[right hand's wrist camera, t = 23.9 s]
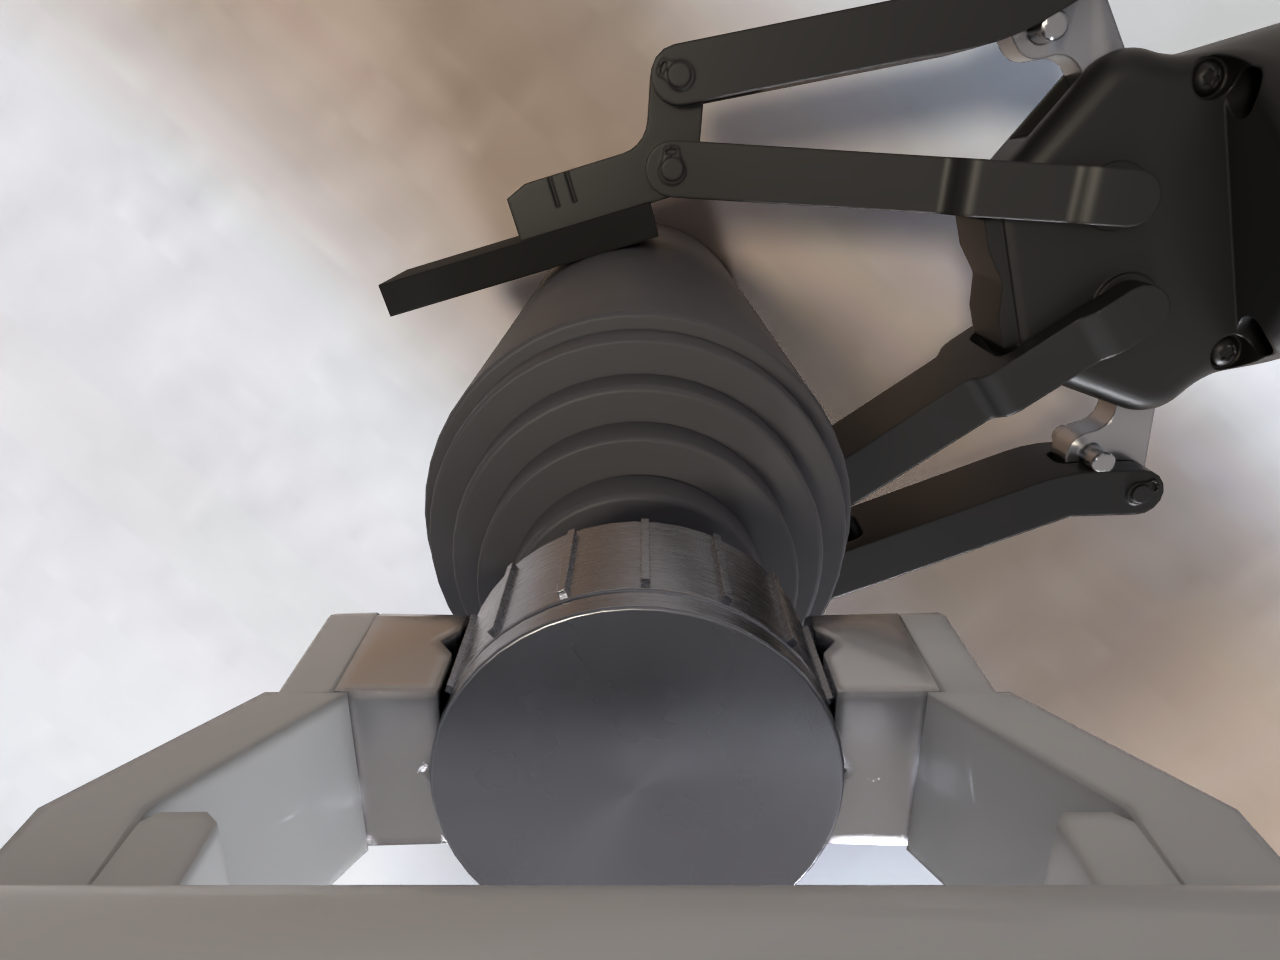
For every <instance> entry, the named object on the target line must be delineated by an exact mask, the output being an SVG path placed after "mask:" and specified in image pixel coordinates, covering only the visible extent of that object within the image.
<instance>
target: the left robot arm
mask: <svg viewBox="0 0 1280 960" xmlns="http://www.w3.org/2000/svg"><path fill="white" fill-rule="evenodd" d="M994 42H997V43H998V46H999V48H1000V50H1001V52H1002V54H1003V55H1004V56H1005V57H1006V58H1007V59H1008V60H1010V61H1013V62H1016V63H1025V62H1029V61H1034V60H1039V59H1049V60H1051V61H1054V62H1055V63H1056V64H1057V65H1058V66H1059V67H1060V68H1061V70H1062V72H1063V74H1064V75H1063V76H1062V77H1061V78H1060V79H1059V81H1058V82H1057V83H1056V84H1055V85H1054V86H1053V88H1052V89H1051V90H1050V91H1049V92H1048V93H1047V94H1046V96H1045V97H1044V98H1043V99H1042V100H1041V101H1040V103H1039V104H1038V105H1037V106H1036V107H1035V108H1034V110H1033V111H1032V112H1031V113H1030V114H1029V115H1028V117H1027V118H1026V119H1025V120H1024V121H1023V122H1022V123H1021V125H1020V126H1019V127H1018V128H1017V129H1016V130H1015V132H1014V133H1013V134H1012V135H1011V136H1010V137H1009V139H1008V140H1007V141H1006V142H1005V143H1004V144H1003V145H1002V147H1001V148H1000V149H999V150H998V151H997V152H996V154H995V155H994V156H993V157H992V158H991V159H990V160H987V159H971V158H953V157H937V156H921V155H905V154H889V153H873V152H857V151H841V150H825V149H809V148H793V147H777V146H761V145H745V144H729V143H713V142H700V134H701V122H702V110H703V104H705V103H710V102H715V101H721V100H726V99H731V98H736V97H741V96H746V95H751V94H756V93H761V92H766V91H771V90H776V89H781V88H786V87H791V86H796V85H801V84H806V83H811V82H816V81H822V80H827V79H832V78H837V77H842V76H847V75H852V74H857V73H862V72H867V71H872V70H877V69H882V68H887V67H892V66H897V65H902V64H907V63H912V62H918V61H923V60H928V59H933V58H938V57H943V56H947V55H951V54H954V53H958V52H962V51H966V50H969V49H973V48H976V47H980V46H983V45H987V44H990V43H994ZM669 197H674V198H690V199H707V200H723V201H740V202H756V203H772V204H789V205H805V206H821V207H838V208H854V209H871V210H887V211H903V212H920V213H936V214H947V215H956V222H957V228H958V234H959V241H960V245H961V247H962V249H963V251H964V253H965V256H966V258H967V260H968V262H969V264H970V266H971V269H972V271H973V278H972V287H971V296H970V310H971V316H972V322H973V326H972V327H970V328H969V329H967V330H966V331H964V332H963V333H961V334H959V335H958V336H956V337H955V338H953V339H952V340H950V341H949V342H948V343H946V344H945V345H944V346H943V347H942V348H941V350H940V352H939V354H938V356H937V357H936V358H934V359H933V360H932V361H930V362H929V363H927V364H926V365H924V366H923V367H921V368H920V369H918V370H917V371H915V372H913V373H912V374H910V375H909V376H907V377H906V378H904V379H903V380H901V381H900V382H898V383H897V384H895V385H894V386H892V387H891V388H889V389H887V390H886V391H884V392H883V393H881V394H880V395H878V396H877V397H875V398H874V399H872V400H871V401H869V402H868V403H866V404H864V405H863V406H861V407H860V408H858V409H857V410H855V411H854V412H852V413H851V414H849V415H848V416H846V417H845V418H843V419H842V420H840V421H838V422H837V423H835V424H834V425H832V427H833V429H834V431H835V434H836V436H837V439H838V442H839V444H840V447H841V450H842V452H843V455H844V460H845V464H846V469H847V474H848V478H849V487H850V501H851V506H852V507H851V512H850V526H849V535H848V539H847V544H846V549H845V553H844V558H843V561H842V565H841V570H840V575H839V578H838V581H837V583H836V586H835V589H834V592H833V594H832V597H831V600H832V599H835V598H837V597H840V596H843V595H846V594H849V593H852V592H855V591H858V590H860V589H863V588H866V587H869V586H872V585H875V584H878V583H880V582H883V581H886V580H889V579H892V578H895V577H898V576H901V575H903V574H906V573H909V572H912V571H915V570H918V569H921V568H924V567H926V566H929V565H932V564H935V563H938V562H941V561H944V560H947V559H949V558H952V557H955V556H958V555H961V554H964V553H967V552H970V551H972V550H975V549H978V548H981V547H984V546H987V545H990V544H992V543H995V542H998V541H1001V540H1004V539H1007V538H1010V537H1013V536H1015V535H1018V534H1021V533H1024V532H1027V531H1030V530H1033V529H1036V528H1038V527H1041V526H1044V525H1047V524H1050V523H1053V522H1056V521H1059V520H1061V519H1064V518H1067V517H1070V516H1102V515H1133V514H1140V513H1145V512H1147V511H1148V510H1150V509H1152V508H1154V506H1155V505H1156V504H1157V503H1158V502H1159V501H1160V499H1161V497H1162V494H1163V482H1162V480H1161V479H1160V477H1159V476H1158V475H1157V474H1155V473H1154V472H1152V471H1150V470H1149V469H1147V468H1146V467H1145V460H1146V455H1147V449H1148V443H1149V437H1150V432H1151V426H1152V420H1153V415H1154V409H1155V408H1156V407H1159V406H1161V405H1164V404H1166V403H1168V402H1169V401H1171V400H1173V399H1174V398H1175V397H1177V396H1178V395H1179V394H1180V393H1182V392H1183V391H1184V390H1185V389H1186V388H1188V387H1189V386H1190V385H1192V384H1193V383H1195V382H1196V381H1198V380H1200V379H1201V378H1203V377H1205V376H1207V375H1209V374H1212V373H1215V372H1218V371H1222V370H1227V369H1233V368H1238V367H1244V366H1249V365H1254V364H1259V363H1264V362H1268V361H1272V360H1276V359H1280V23H1278V24H1274V25H1271V26H1268V27H1264V28H1261V29H1258V30H1254V31H1251V32H1248V33H1244V34H1241V35H1238V36H1235V37H1231V38H1228V39H1225V40H1221V41H1218V42H1215V43H1211V44H1208V45H1205V46H1201V47H1198V48H1195V49H1191V50H1188V51H1185V52H1181V53H1178V54H1174V55H1170V54H1161V53H1156V52H1153V51H1150V50H1147V49H1142V48H1124V45H1123V42H1122V39H1121V36H1120V34H1119V31H1118V28H1117V25H1116V22H1115V20H1114V17H1113V14H1112V11H1111V8H1110V6H1109V3H1108V0H890V1H885V2H880V3H875V4H870V5H865V6H860V7H855V8H850V9H846V10H841V11H836V12H831V13H826V14H821V15H816V16H811V17H806V18H801V19H796V20H791V21H786V22H781V23H776V24H772V25H767V26H762V27H757V28H752V29H747V30H742V31H737V32H732V33H727V34H722V35H717V36H712V37H707V38H702V39H698V40H693V41H688V42H683V43H678V44H674V45H671V46H669V47H667V48H664V49H663V50H662V51H661V52H660V53H659V55H658V56H657V57H656V58H655V61H654V63H653V66H652V69H651V75H650V87H649V102H648V118H647V126H646V130H645V133H644V135H643V137H642V139H641V140H640V141H639V143H638V144H637V145H636V146H635V147H634V148H632V149H631V150H629V151H627V152H625V153H623V154H619V155H616V156H613V157H610V158H607V159H603V160H600V161H597V162H594V163H590V164H587V165H584V166H581V167H578V168H574V169H571V170H568V171H565V172H561V173H558V174H555V175H552V176H548V177H545V178H542V179H539V180H536V181H532V182H529V183H527V184H524V185H523V186H522V187H521V188H520V189H519V190H517V191H516V192H515V193H514V194H513V195H511V196H510V197H509V198H508V199H507V201H508V204H509V207H510V210H511V213H512V216H513V219H514V222H515V225H516V228H517V231H518V234H519V236H517V237H513V238H510V239H507V240H504V241H500V242H497V243H494V244H490V245H487V246H484V247H481V248H477V249H474V250H471V251H467V252H464V253H461V254H457V255H454V256H451V257H448V258H444V259H441V260H438V261H434V262H431V263H428V264H425V265H421V266H418V267H415V268H411V269H408V270H406V271H404V272H402V273H400V274H398V275H397V276H395V277H393V278H391V279H389V280H387V281H386V282H384V283H382V284H380V285H379V288H380V291H381V293H382V296H383V298H384V301H385V303H386V306H387V308H388V311H389V314H390V316H394V315H398V314H401V313H404V312H408V311H411V310H414V309H418V308H421V307H424V306H428V305H431V304H434V303H438V302H441V301H444V300H448V299H451V298H454V297H458V296H461V295H465V294H468V293H471V292H475V291H478V290H481V289H485V288H488V287H491V286H495V285H498V284H501V283H505V282H508V281H511V280H515V279H518V278H521V277H525V276H528V275H531V274H535V273H538V272H542V271H545V270H548V269H552V268H555V267H558V266H562V265H565V264H568V263H572V262H575V261H578V260H582V259H585V258H588V257H592V256H595V255H598V254H602V253H605V252H608V251H612V250H615V249H618V248H622V247H625V246H629V245H632V244H635V243H639V242H642V241H645V240H649V239H652V238H655V237H659V235H658V230H657V226H656V222H655V218H654V215H653V211H652V207H651V204H650V203H653V202H656V201H659V200H663V199H666V198H669ZM1061 385H1063V386H1065V387H1068V388H1071V389H1073V390H1076V391H1079V392H1082V393H1084V394H1087V395H1090V396H1092V397H1095V398H1098V399H1099V400H1098V403H1097V406H1096V407H1095V409H1094V411H1093V412H1092V413H1091V414H1090V415H1089V416H1088V417H1086V418H1084V419H1082V420H1080V421H1076V422H1073V423H1070V424H1067V425H1061V426H1059V427H1057V428H1056V429H1055V430H1054V431H1053V434H1052V442H1047V443H1037V444H1031V445H1026V446H1021V447H1018V448H1014V449H1011V450H1008V451H1005V452H1002V453H999V454H996V455H993V456H991V457H988V458H985V459H982V460H980V461H977V462H974V463H971V464H969V465H966V466H963V467H960V468H957V469H955V470H952V471H949V472H946V473H944V474H941V475H938V476H935V477H933V478H930V479H927V480H924V481H921V482H919V483H916V484H913V485H910V486H908V487H905V488H902V489H899V490H897V491H894V492H891V493H888V494H886V495H883V496H880V497H877V498H874V499H872V500H869V501H866V502H863V503H861V504H858V505H855V506H853V505H854V504H856V503H857V502H859V501H861V500H862V499H864V498H865V497H867V496H869V495H870V494H872V493H873V492H875V491H876V490H878V489H880V488H881V487H883V486H884V485H886V484H888V483H889V482H891V481H892V480H894V479H896V478H897V477H899V476H900V475H902V474H904V473H905V472H907V471H908V470H910V469H911V468H913V467H915V466H916V465H918V464H919V463H921V462H923V461H924V460H926V459H927V458H929V457H931V456H932V455H934V454H935V453H937V452H939V451H940V450H942V449H943V448H945V447H947V446H948V445H950V444H951V443H953V442H954V441H956V440H958V439H959V438H961V437H962V436H964V435H966V434H967V433H969V432H970V431H972V430H974V429H975V428H977V427H978V426H980V425H982V424H983V423H985V422H986V421H988V420H990V419H993V418H997V417H1007V416H1010V415H1013V414H1015V413H1017V412H1019V411H1021V410H1023V409H1024V408H1026V407H1028V406H1029V405H1031V404H1032V403H1034V402H1036V401H1037V400H1039V399H1040V398H1042V397H1044V396H1045V395H1047V394H1048V393H1050V392H1052V391H1053V390H1055V389H1056V388H1058V387H1060V386H1061Z"/></svg>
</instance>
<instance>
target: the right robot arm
mask: <svg viewBox="0 0 1280 960" xmlns="http://www.w3.org/2000/svg"><path fill="white" fill-rule="evenodd" d="M469 620H470V616H469V615H423V614H378V613H348V614H334V615H331V616H330V617H329V618H328V619H327V621H326V622H325V624H324V625H323V627H322V628H321V630H320V631H319V633H318V634H317V636H316V637H315V639H314V640H313V642H312V643H311V645H310V646H309V648H308V649H307V651H306V652H305V654H304V655H303V657H302V658H301V660H300V661H299V663H298V664H297V666H296V667H295V669H294V670H293V672H292V673H291V675H290V676H289V678H288V679H287V681H286V682H285V684H284V685H283V687H282V688H281V690H280V691H279V692H264V693H263V694H261V695H259V696H257V697H255V698H253V699H251V700H249V701H247V702H245V703H243V704H241V705H239V706H237V707H235V708H233V709H231V710H229V711H227V712H225V713H223V714H221V715H219V716H218V717H216V718H214V719H212V720H210V721H208V722H206V723H204V724H202V725H200V726H198V727H196V728H194V729H192V730H190V731H188V732H186V733H184V734H182V735H180V736H178V737H176V738H174V739H173V740H171V741H169V742H167V743H165V744H163V745H161V746H159V747H157V748H155V749H153V750H151V751H149V752H147V753H145V754H143V755H141V756H139V757H137V758H135V759H133V760H131V761H129V762H128V763H126V764H124V765H122V766H120V767H118V768H116V769H114V770H112V771H110V772H108V773H106V774H104V775H102V776H100V777H98V778H96V779H94V780H92V781H90V782H88V783H86V784H85V785H83V786H81V787H79V788H77V789H75V790H73V791H71V792H69V793H67V794H65V795H63V796H61V797H59V798H57V799H55V800H53V801H51V802H49V803H47V804H45V805H43V806H41V807H40V808H38V809H37V810H36V811H35V812H34V813H33V814H32V815H31V816H30V818H29V819H28V820H27V821H26V822H25V823H24V824H23V825H22V826H21V827H20V829H19V830H18V831H17V832H16V833H15V834H14V835H13V836H12V837H11V838H10V840H9V841H8V842H7V843H6V844H5V845H4V846H3V847H2V848H1V849H0V960H1280V857H1279V856H1278V855H1277V853H1276V852H1275V851H1274V850H1273V849H1272V848H1271V847H1270V846H1269V845H1268V843H1267V842H1266V841H1265V840H1264V839H1263V838H1262V837H1261V836H1260V834H1259V833H1258V832H1257V831H1256V830H1255V829H1254V828H1253V827H1252V826H1251V824H1250V823H1249V822H1248V821H1247V820H1246V819H1245V818H1244V817H1243V815H1242V814H1241V813H1240V812H1239V811H1238V810H1237V809H1235V808H1233V807H1231V806H1229V805H1227V804H1225V803H1223V802H1222V801H1220V800H1218V799H1216V798H1214V797H1212V796H1210V795H1208V794H1206V793H1204V792H1202V791H1200V790H1198V789H1196V788H1194V787H1192V786H1190V785H1189V784H1187V783H1185V782H1183V781H1181V780H1179V779H1177V778H1175V777H1173V776H1171V775H1169V774H1167V773H1165V772H1163V771H1161V770H1159V769H1158V768H1156V767H1154V766H1152V765H1150V764H1148V763H1146V762H1144V761H1142V760H1140V759H1138V758H1136V757H1134V756H1132V755H1130V754H1128V753H1127V752H1125V751H1123V750H1121V749H1119V748H1117V747H1115V746H1113V745H1111V744H1109V743H1107V742H1105V741H1103V740H1101V739H1099V738H1097V737H1096V736H1094V735H1092V734H1090V733H1088V732H1086V731H1084V730H1082V729H1080V728H1078V727H1076V726H1074V725H1072V724H1070V723H1068V722H1066V721H1065V720H1063V719H1061V718H1059V717H1057V716H1055V715H1053V714H1051V713H1049V712H1047V711H1045V710H1043V709H1041V708H1039V707H1037V706H1035V705H1034V704H1032V703H1030V702H1028V701H1026V700H1024V699H1022V698H1020V697H1018V696H1016V695H1014V694H1012V693H1010V692H995V690H994V689H993V687H992V686H991V684H990V683H989V681H988V680H987V678H986V677H985V675H984V674H983V672H982V671H981V669H980V668H979V666H978V665H977V663H976V662H975V660H974V659H973V657H972V656H971V654H970V653H969V651H968V650H967V648H966V647H965V645H964V644H963V642H962V641H961V639H960V637H959V636H958V634H957V633H956V631H955V630H954V628H953V627H952V625H951V624H950V622H949V621H948V619H947V618H946V616H944V615H942V614H940V613H917V614H861V615H820V616H808V617H805V619H804V624H803V627H804V626H808V627H809V630H810V633H811V636H812V639H813V642H814V644H815V646H816V649H817V652H818V655H819V657H820V660H821V663H822V668H823V671H824V673H825V676H826V679H827V682H828V685H829V687H830V690H831V693H832V696H833V705H832V706H829V707H830V710H831V713H832V716H833V719H834V722H835V725H836V728H837V731H838V734H839V737H840V740H841V746H842V751H843V757H844V780H845V784H844V791H843V797H842V804H841V808H840V811H839V814H838V818H837V821H836V824H835V827H834V830H833V832H832V834H831V836H830V838H829V840H828V842H827V843H829V844H865V845H902V846H907V850H908V851H909V852H910V853H911V854H912V855H913V856H914V857H915V858H916V859H917V860H918V861H919V862H921V863H922V864H923V865H924V866H925V867H926V868H927V869H928V870H929V871H930V872H931V873H932V874H933V875H934V876H935V877H936V878H937V879H938V880H939V881H940V882H942V883H943V884H944V885H332V884H333V883H334V882H335V881H336V880H337V879H338V878H339V877H340V876H341V875H342V874H343V873H344V872H345V871H347V870H348V869H349V868H350V867H351V866H352V865H353V864H354V863H355V862H356V861H357V860H358V859H359V858H360V857H361V856H362V855H363V854H365V853H366V852H367V851H368V846H373V845H408V844H444V843H448V842H447V841H446V839H445V837H444V835H443V832H442V829H441V827H440V824H439V822H438V819H437V816H436V813H435V808H434V804H433V799H432V795H431V783H430V764H431V754H432V747H433V743H434V739H435V736H436V732H437V728H438V725H439V722H440V719H441V716H442V714H443V711H444V708H445V705H446V702H447V699H448V696H449V693H447V692H444V689H445V687H446V684H447V681H448V678H449V675H450V673H451V670H452V667H453V664H454V661H455V659H456V656H457V653H458V650H459V648H460V645H461V642H462V639H463V636H464V634H465V631H466V628H467V625H468V622H469Z"/></svg>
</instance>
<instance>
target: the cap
mask: <svg viewBox="0 0 1280 960" xmlns="http://www.w3.org/2000/svg"><path fill="white" fill-rule="evenodd" d="M444 692H447V693H449V696H448V699H447V702H446V705H445V708H444V711H443V714H442V716H441V719H440V722H439V725H438V728H437V732H436V736H435V739H434V743H433V747H432V754H431V764H430V783H431V795H432V799H433V804H434V808H435V813H436V816H437V819H438V822H439V824H440V827H441V829H442V832H443V835H444V837H445V839H446V841H447V842H448V844H449V846H450V848H451V849H452V851H453V853H454V855H455V856H456V858H457V859H458V860H459V862H460V863H461V864H462V865H463V867H464V868H465V869H466V871H467V872H468V873H469V874H470V875H471V876H472V877H473V878H474V879H475V880H476V881H477V882H478V883H479V884H480V885H796V884H797V883H798V882H799V881H800V879H801V878H802V877H803V876H804V875H805V874H806V873H807V872H808V871H809V869H810V868H811V867H812V866H813V864H814V863H815V861H816V860H817V858H818V857H819V855H820V854H821V853H822V851H823V850H824V848H825V846H826V844H827V842H828V840H829V838H830V836H831V834H832V832H833V830H834V827H835V824H836V821H837V818H838V814H839V811H840V808H841V804H842V797H843V791H844V784H845V780H844V757H843V751H842V746H841V740H840V737H839V734H838V731H837V728H836V725H835V722H834V719H833V716H832V713H831V710H830V707H829V706H832V705H833V696H832V693H831V690H830V687H829V685H828V682H827V679H826V676H825V673H824V671H823V668H822V663H821V660H820V657H819V655H818V652H817V649H816V646H815V644H814V642H813V639H812V636H811V633H810V630H809V627H808V626H804V627H802V624H801V621H800V618H799V616H798V614H797V612H796V610H795V608H794V607H793V605H792V603H791V601H790V599H789V598H788V596H787V595H786V594H785V592H784V591H783V590H782V588H781V586H780V583H779V579H778V576H777V575H776V574H775V573H774V572H771V573H770V574H769V573H768V572H767V571H766V570H765V569H764V568H763V567H762V566H760V565H759V564H758V563H756V562H755V561H754V560H753V559H751V558H750V557H749V556H747V555H746V554H745V553H743V552H742V551H740V550H738V549H736V548H735V547H733V546H731V545H730V544H728V543H726V542H724V541H722V540H721V536H719V535H717V534H715V533H714V534H713V536H710V535H708V534H705V533H703V532H699V531H696V530H692V529H689V528H685V527H682V526H677V525H671V524H664V523H658V522H649V519H641V522H635V521H632V522H620V523H609V524H604V525H599V526H594V527H590V528H585V529H582V530H579V531H576V529H575V528H574V529H571V530H568V533H567V535H565V536H562V537H560V538H558V539H556V540H554V541H552V542H550V543H548V544H546V545H544V546H542V547H540V548H539V549H537V550H536V551H534V552H533V553H531V554H530V555H528V556H527V557H525V558H524V559H522V560H521V561H520V562H519V563H518V564H517V565H515V564H514V563H513V562H512V563H511V564H510V565H509V566H508V567H507V570H506V573H505V576H504V577H503V578H502V579H501V580H500V581H499V583H498V584H497V585H496V586H495V587H494V588H493V590H492V591H491V593H490V594H489V596H488V597H487V599H486V601H485V602H484V604H483V605H482V607H481V609H480V611H479V613H478V616H476V615H474V614H472V615H471V617H470V620H469V622H468V625H467V628H466V631H465V634H464V636H463V639H462V642H461V645H460V648H459V650H458V653H457V656H456V659H455V661H454V664H453V667H452V670H451V673H450V675H449V678H448V681H447V684H446V687H445V689H444Z"/></svg>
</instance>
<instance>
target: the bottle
mask: <svg viewBox="0 0 1280 960" xmlns="http://www.w3.org/2000/svg"><path fill="white" fill-rule="evenodd" d="M656 226H657V230H658V235H659V237H655V238H652V239H649V240H645V241H642V242H639V243H635V244H632V245H629V246H625V247H622V248H618V249H615V250H612V251H608V252H605V253H602V254H598V255H595V256H592V257H588V258H585V259H582V260H578V261H575V262H572V263H568V264H565V265H562V266H558V267H555V268H552V269H551V270H550V271H549V273H548V274H547V275H546V277H545V278H544V280H543V281H542V283H541V284H540V285H539V287H538V288H537V290H536V291H535V293H534V294H533V295H532V297H531V298H530V300H529V301H528V303H527V304H526V305H525V307H524V308H523V310H522V311H521V313H520V314H519V315H518V317H517V318H516V320H515V321H514V323H513V324H512V325H511V327H510V328H509V330H508V331H507V333H506V334H505V335H504V337H503V338H502V340H501V341H500V343H499V344H498V345H497V347H496V348H495V350H494V351H493V353H492V354H491V355H490V357H489V358H488V360H487V361H486V363H485V364H484V365H483V367H482V368H481V370H480V371H479V373H478V374H477V375H476V377H475V378H474V380H473V381H472V383H471V384H470V385H469V387H468V388H467V390H466V391H465V393H464V394H463V396H462V397H461V398H460V400H459V401H458V403H457V404H456V406H455V407H454V409H453V410H452V411H451V413H450V415H449V417H448V419H447V421H446V423H445V425H444V427H443V429H442V431H441V433H440V435H439V437H438V440H437V443H436V447H435V450H434V453H433V456H432V459H431V462H430V467H429V473H428V478H427V484H426V499H425V518H426V527H427V536H428V541H429V545H430V549H431V553H432V559H433V563H434V567H435V571H436V575H437V578H438V582H439V585H440V587H441V590H442V592H443V595H444V597H445V599H446V602H447V604H448V606H449V608H450V610H451V612H452V613H453V615H469V616H470V617H471V615H472V614H474V615H476V616H478V613H479V611H480V609H481V607H482V605H483V604H484V602H485V601H486V599H487V597H488V596H489V594H490V593H491V591H492V590H493V588H494V587H495V586H496V585H497V584H498V583H499V581H500V580H501V579H502V578H503V577H504V576H505V573H506V570H507V567H508V566H509V565H510V564H511V563H512V562H513V563H514V564H515V565H517V564H518V563H519V562H520V561H521V560H522V559H524V558H525V557H527V556H528V555H530V554H531V553H533V552H534V551H536V550H537V549H539V548H540V547H542V546H544V545H546V544H548V543H550V542H552V541H554V540H556V539H558V538H560V537H562V536H565V535H567V533H568V530H571V529H574V528H575V529H576V531H579V530H582V529H585V528H590V527H594V526H599V525H604V524H609V523H620V522H632V521H635V522H641V519H649V522H658V523H664V524H671V525H677V526H682V527H685V528H689V529H692V530H696V531H699V532H703V533H705V534H708V535H710V536H713V534H714V533H715V534H717V535H719V536H721V540H722V541H724V542H726V543H728V544H730V545H731V546H733V547H735V548H736V549H738V550H740V551H742V552H743V553H745V554H746V555H747V556H749V557H750V558H751V559H753V560H754V561H755V562H756V563H758V564H759V565H760V566H762V567H763V568H764V569H765V570H766V571H767V572H768V573H769V574H770V573H771V572H774V573H775V574H776V575H777V576H778V579H779V583H780V586H781V588H782V590H783V591H784V592H785V594H786V595H787V596H788V598H789V599H790V601H791V603H792V605H793V607H794V608H795V610H796V612H797V614H798V616H799V618H800V621H801V624H802V627H803V624H804V619H805V617H808V616H820V615H823V613H824V611H825V609H826V607H827V605H828V603H829V602H830V600H831V597H832V594H833V592H834V589H835V586H836V583H837V581H838V578H839V575H840V570H841V565H842V561H843V558H844V553H845V549H846V544H847V539H848V535H849V526H850V512H851V501H850V487H849V478H848V474H847V469H846V464H845V460H844V455H843V452H842V450H841V447H840V444H839V442H838V439H837V436H836V434H835V431H834V429H833V427H832V425H831V423H830V422H829V420H828V418H827V416H826V414H825V413H824V411H823V409H822V407H821V405H820V404H819V403H818V401H817V400H816V398H815V397H814V395H813V394H812V392H811V391H810V390H809V388H808V387H807V385H806V384H805V382H804V381H803V379H802V378H801V377H800V375H799V374H798V372H797V371H796V369H795V368H794V367H793V365H792V364H791V362H790V361H789V359H788V358H787V356H786V355H785V354H784V352H783V351H782V349H781V348H780V346H779V345H778V343H777V342H776V341H775V339H774V338H773V336H772V335H771V333H770V332H769V331H768V329H767V328H766V326H765V325H764V323H763V322H762V320H761V319H760V318H759V316H758V315H757V313H756V312H755V310H754V309H753V307H752V306H751V305H750V303H749V302H748V300H747V299H746V297H745V296H744V294H743V293H742V292H741V290H740V289H739V287H738V286H737V284H736V283H735V282H734V280H733V279H732V277H731V276H730V274H729V273H728V271H727V270H726V269H725V267H724V266H723V265H722V263H721V262H720V261H719V259H718V258H717V257H716V256H715V255H714V254H713V253H712V252H711V251H710V250H709V249H708V248H707V247H706V246H704V245H703V244H702V243H700V242H699V241H698V240H696V239H695V238H693V237H691V236H689V235H688V234H686V233H684V232H682V231H679V230H677V229H674V228H672V227H668V226H665V225H661V224H656Z"/></svg>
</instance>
